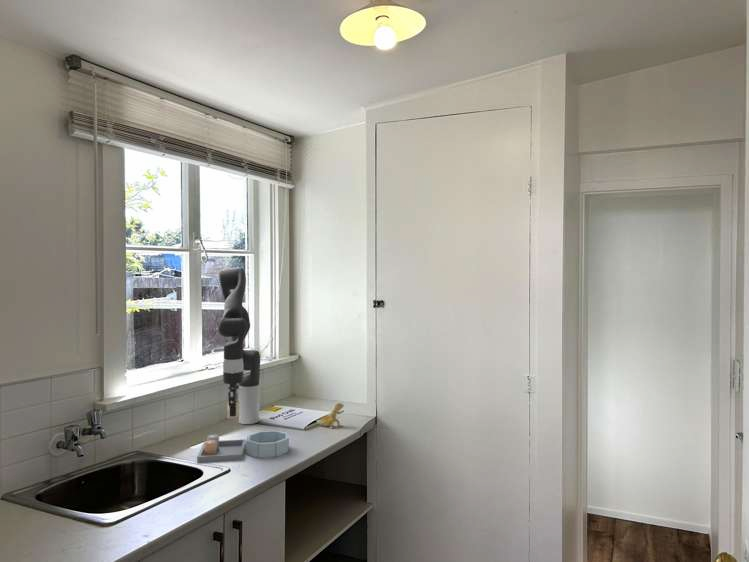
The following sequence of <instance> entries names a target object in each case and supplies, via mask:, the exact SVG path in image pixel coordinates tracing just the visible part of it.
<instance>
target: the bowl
mask: <svg viewBox="0 0 749 562" xmlns="http://www.w3.org/2000/svg"><path fill="white" fill-rule="evenodd" d="M289 435H290V434H289V433H288V432H285V431H281V430H276V429H274V430H260V431H256V432H253V433H250V434H248V435H247V436H246V446H245V453H246V455H248V456H250V457H253V458H260V459H266V458H267V459H268V458H275V457H276V458H277V457H281V456H283V455H285V454H287V453H288V452H289V451H290V446H289V445H290V444H289V439H290V437H289Z"/></svg>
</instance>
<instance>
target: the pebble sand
mask: <svg viewBox="0 0 749 562" xmlns="http://www.w3.org/2000/svg"><path fill="white" fill-rule="evenodd" d="M231 403H234V401H232V402H231ZM236 404H237V405H236V416H230V407H229V401H228V402H227V419H234V420H235V419H239V401H238V402H237V401H236Z"/></svg>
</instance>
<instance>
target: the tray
mask: <svg viewBox="0 0 749 562" xmlns="http://www.w3.org/2000/svg"><path fill="white" fill-rule="evenodd" d="M246 439H247V438H246ZM246 439H244V438H243V439H224V440H219V451H217V455H208V456H205V451H204V443H205V442H206V441H207V440H206V441H204V442H203V443H202V446H201V448H200V450H199V452H198V454H197V456H196V463H197V462H199V463H214V462H216V463H217V462H230V461H233V462H235V461H243V458H244V454H245V451H246Z"/></svg>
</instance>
